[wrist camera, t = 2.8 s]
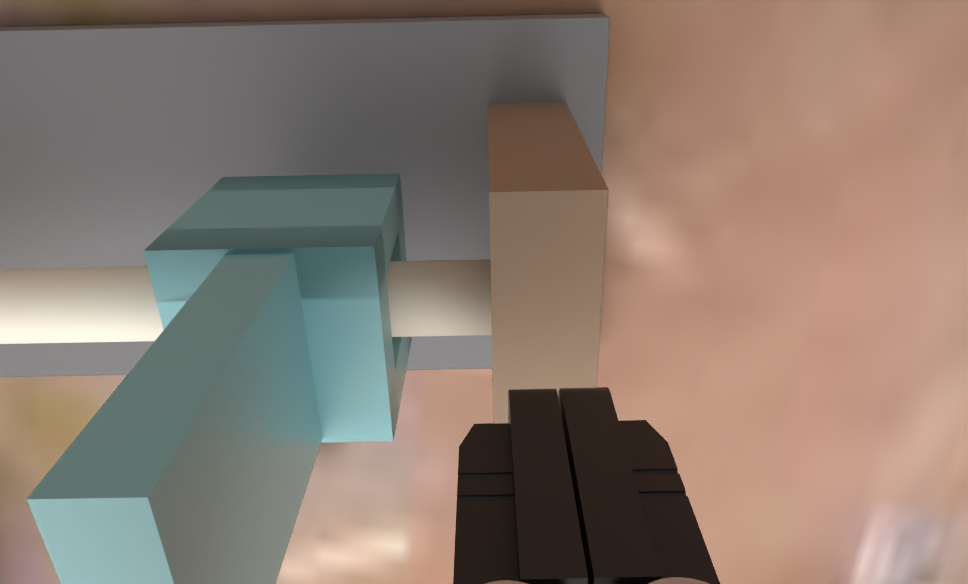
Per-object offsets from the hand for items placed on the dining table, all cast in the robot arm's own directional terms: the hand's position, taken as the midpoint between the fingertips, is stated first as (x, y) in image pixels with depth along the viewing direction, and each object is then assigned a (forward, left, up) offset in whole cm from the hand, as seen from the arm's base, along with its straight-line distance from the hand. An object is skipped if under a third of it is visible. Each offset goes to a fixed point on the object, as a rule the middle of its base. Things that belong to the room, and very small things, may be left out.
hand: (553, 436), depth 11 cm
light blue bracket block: (+5, 0, -7) cm, 8 cm away
